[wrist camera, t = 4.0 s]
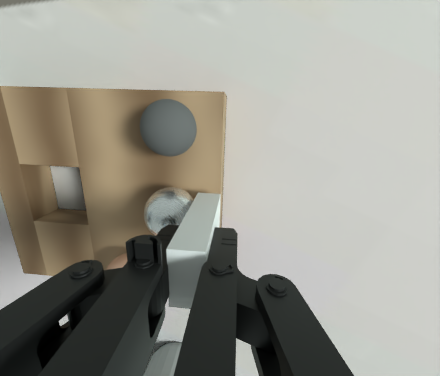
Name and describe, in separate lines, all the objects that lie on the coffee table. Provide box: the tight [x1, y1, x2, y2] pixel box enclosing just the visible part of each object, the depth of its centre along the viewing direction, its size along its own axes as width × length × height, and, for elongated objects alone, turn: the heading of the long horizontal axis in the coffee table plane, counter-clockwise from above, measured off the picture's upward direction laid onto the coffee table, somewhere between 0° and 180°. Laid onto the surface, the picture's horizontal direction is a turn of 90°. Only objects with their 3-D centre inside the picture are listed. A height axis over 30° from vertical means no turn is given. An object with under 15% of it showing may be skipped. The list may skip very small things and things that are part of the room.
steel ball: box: [144, 187, 194, 236], centre depth 14 cm, size 3×3×3 cm
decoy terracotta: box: [106, 253, 127, 270], centre depth 16 cm, size 3×3×3 cm
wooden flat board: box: [0, 86, 227, 276], centre depth 17 cm, size 17×15×2 cm
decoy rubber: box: [140, 99, 197, 157], centre depth 13 cm, size 3×3×3 cm
